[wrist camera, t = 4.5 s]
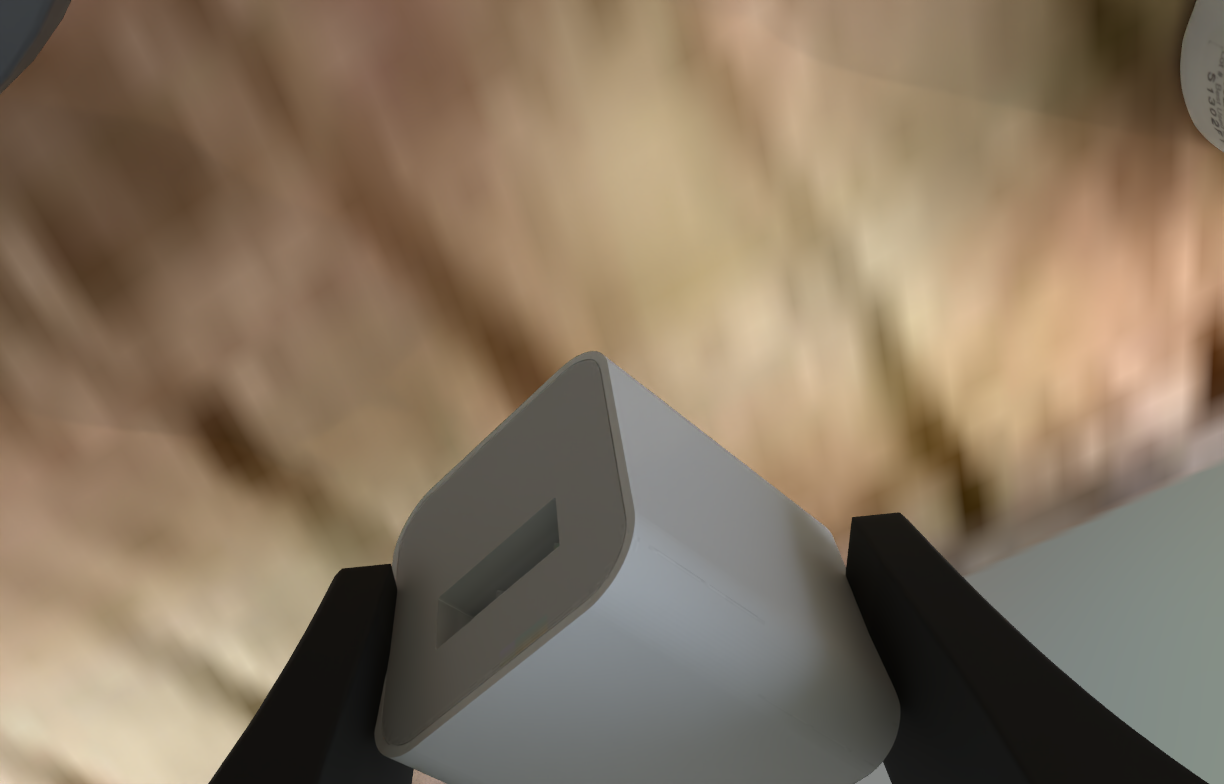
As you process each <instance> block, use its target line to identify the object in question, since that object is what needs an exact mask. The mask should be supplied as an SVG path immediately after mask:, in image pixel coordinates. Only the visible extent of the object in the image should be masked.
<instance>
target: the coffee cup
mask: <svg viewBox="0 0 1224 784" xmlns="http://www.w3.org/2000/svg"><path fill="white" fill-rule="evenodd" d="M70 2H71V0H0V94H1V93H2V92H3V91H4V90H5V89H6V88H7V87H8V86H9V85H10V84H11V83H12V82H13V81H14V80H15V79H16V78H17V77H18V76H19V75H20V74H21V73H22V72H23V71H24V70H25V69H26V68H27V67H28V66H29V65H30V64H31V63H32V62H33V61H34V59H35V58H36V57H37V55H38V54H39V52H40V51H41V49H42V48H43V46H44V45H45V44H46V42H47V41H48V39H49V38H50V36H51V35H52V33H53V32H54V31H55V29H56V28H57V26H58V25H59V23H60V22H61V20H62V19H63V17H64V15H65V13H66V10H67V8H68V6H69V4H70Z"/></svg>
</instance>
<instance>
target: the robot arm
mask: <svg viewBox="0 0 1224 784" xmlns="http://www.w3.org/2000/svg"><path fill="white" fill-rule="evenodd" d="M846 577H847V580H848V582H849V585H850V587H851V590H852V592H853V595H854V598H855V600H856V603H857V605H858V608H859V610H860V613H861V615H862V618H863V620H864V623H865V625H866V628H867V630H868V633H869V635H870V637H871V639H872V641H873V644H874V646H875V648H876V650H877V652H878V654H879V656H880V659H881V661H882V663H883V665H884V667H885V669H886V671H887V674H888V676H889V678H890V680H891V682H892V684H893V686H894V689H895V691H896V694H897V696H898V699H899V702H900V724H899V729H898V733H897V736H896V739H895V741H894V744H893V746H892V748H891V750H890V752H889V753H888V755H887V756H886V758H885V759H884V761H883V763H884V765H885V768H886V770H887V773H888V775H889V777H890V780H891V782H892V784H1209V783H1207V782H1205V781H1204V780H1202V779H1201V778H1200V777H1198V776H1196V775H1195V774H1194V773H1192V772H1191V771H1189V770H1188V769H1187V768H1185V767H1184V766H1182V765H1181V764H1180V763H1178V762H1177V761H1175V760H1174V759H1173V758H1171V757H1170V756H1168V755H1167V754H1166V753H1164V752H1163V751H1162V750H1160V749H1159V748H1158V747H1156V746H1155V745H1154V744H1152V743H1151V742H1150V741H1148V740H1147V739H1146V738H1144V737H1143V736H1142V735H1140V734H1139V733H1138V732H1136V731H1135V730H1134V729H1132V728H1131V727H1130V726H1128V725H1127V724H1126V723H1125V722H1123V721H1122V720H1121V719H1119V718H1118V717H1117V716H1116V715H1114V714H1113V713H1112V712H1111V711H1109V710H1108V709H1107V708H1105V706H1103V705H1102V704H1101V703H1100V702H1098V701H1097V700H1096V699H1095V698H1093V697H1092V696H1091V695H1090V694H1089V693H1087V692H1086V691H1085V690H1084V689H1083V688H1082V687H1081V686H1079V685H1078V684H1077V683H1076V682H1075V681H1073V680H1072V679H1071V678H1070V677H1069V676H1068V675H1067V674H1065V673H1064V672H1063V671H1062V670H1060V669H1059V668H1058V667H1057V666H1056V665H1055V664H1054V663H1053V662H1051V661H1050V660H1049V659H1048V658H1047V657H1046V656H1045V655H1044V654H1042V652H1040V651H1039V650H1038V649H1037V648H1036V647H1035V646H1034V645H1033V644H1031V643H1030V642H1029V641H1028V640H1027V639H1026V638H1025V637H1024V636H1023V635H1022V634H1021V633H1020V632H1019V631H1018V630H1016V628H1014V626H1012V625H1011V624H1010V623H1009V622H1008V621H1007V620H1006V619H1005V618H1004V617H1003V616H1002V615H1001V614H1000V613H999V612H998V611H997V610H996V609H994V608H993V607H992V606H991V605H990V604H989V603H988V602H987V601H986V600H985V599H984V598H983V597H982V596H981V595H980V594H979V593H978V592H977V591H976V590H975V589H974V588H973V587H972V586H971V585H970V584H969V583H968V582H967V581H966V580H965V579H964V578H963V577H962V576H961V575H960V574H959V573H958V572H957V571H956V570H955V569H954V568H953V567H952V566H951V564H950V563H949V562H948V561H947V560H946V559H945V558H944V557H943V556H942V555H941V554H940V553H939V552H938V551H937V550H936V549H935V548H934V547H933V546H932V545H931V544H930V543H929V542H928V541H927V539H926V538H925V537H924V536H923V535H922V534H921V533H920V532H919V531H918V530H917V529H916V528H915V527H914V526H913V525H912V524H911V523H910V522H909V521H908V520H907V519H906V518H905V517H904V516H903V515H902V514H901V513H890V514H880V515H870V516H860V517H852V523H851V532H850V540H849V549H848V558H847V566H846ZM396 599H397V586H396V582H395V578H394V574H393V570H392V566H391V564H384V565H374V566H364V567H354V568H345V569H341V570H340V571H339V572H338V573H337V574H336V575H335V577H334V579H333V581H332V583H331V585H330V586H329V588H328V590H327V592H326V594H325V596H324V598H323V600H322V602H321V604H320V606H319V607H318V609H317V611H316V613H315V615H314V617H313V619H312V620H311V622H310V624H309V626H308V628H307V629H306V631H305V633H304V635H303V637H302V638H301V640H300V642H299V643H298V645H297V647H296V649H295V650H294V652H293V654H292V656H291V657H290V659H289V661H288V663H287V664H286V666H285V668H284V669H283V671H282V672H281V674H280V676H279V677H278V679H277V680H276V682H275V684H274V685H273V687H272V689H271V690H270V692H269V693H268V695H267V697H266V698H265V700H264V702H263V703H262V705H261V706H260V708H259V710H258V711H257V713H256V714H255V716H254V718H253V719H252V721H251V722H250V724H249V725H248V727H247V728H246V730H245V731H244V733H243V734H242V736H241V737H240V738H239V740H238V741H237V743H236V744H235V746H234V747H233V749H232V750H231V752H230V753H229V754H228V756H227V757H226V759H225V760H224V762H223V763H222V765H221V766H220V768H219V769H218V770H217V772H216V773H215V775H214V776H213V778H212V779H211V781H210V782H209V783H208V784H412V777H413V770H414V769H413V768H411V767H409V766H406V765H404V764H402V763H400V762H397V761H395V760H393V759H391V758H388V757H386V756H384V755H383V754H381V753H380V751H379V750H378V748H377V746H376V742H375V736H374V732H375V727H376V721H377V716H378V711H379V706H380V701H381V696H382V691H383V686H384V681H385V676H386V673H387V667H388V661H389V656H390V649H391V640H392V632H393V624H394V615H395V607H396Z"/></svg>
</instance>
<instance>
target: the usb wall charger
mask: <svg viewBox="0 0 1224 784" xmlns="http://www.w3.org/2000/svg"><path fill="white" fill-rule="evenodd" d="M392 570H393V574H394V578H395V582H396V586H397V599H396V607H395V615H394V624H393V632H392V640H391V649H390V656H389V661H388V667H387V673H386V676H385V681H384V686H383V691H382V696H381V701H380V706H379V711H378V716H377V721H376V727H375V732H374V736H375V742H376V746H377V748H378V750H379V751H380V753H381V754H383V755H384V756H386V757H388V758H391V759H393V760H395V761H397V762H400V763H402V764H404V765H406V766H409V767H411V768H413V769H415V770H418V771H420V772H422V773H424V774H427V775H429V776H431V777H434V778H436V779H438V780H440V781H443V782H445V783H447V784H855V783H857V782H858V781H860V780H861V779H863V778H865V777H866V776H868V775H869V774H871V773H872V772H873V771H874V770H875V769H876V768H877V767H878V766H879V765H880V764H881V763H882V762H883V761H884V759H885V758H886V756H887V755H888V753H889V752H890V750H891V748H892V746H893V744H894V741H895V739H896V736H897V733H898V729H899V724H900V702H899V699H898V696H897V694H896V691H895V689H894V686H893V684H892V682H891V680H890V678H889V676H888V674H887V671H886V669H885V667H884V665H883V663H882V661H881V659H880V656H879V654H878V652H877V650H876V648H875V646H874V644H873V641H872V639H871V637H870V635H869V633H868V630H867V628H866V625H865V623H864V620H863V618H862V615H861V613H860V610H859V608H858V605H857V603H856V600H855V598H854V595H853V592H852V590H851V587H850V585H849V582H848V580H847V577H846V567H845V565H844V562H843V560H842V557H841V555H840V553H839V550H838V548H837V545H836V543H835V541H834V538H833V536H832V534H831V532H830V531H829V530H828V529H827V528H826V527H825V526H824V525H823V524H821V523H820V522H819V521H817V520H816V519H815V518H814V517H812V516H811V515H810V514H808V513H807V512H806V511H805V510H803V509H802V508H801V507H799V506H798V505H797V504H795V503H794V502H793V501H792V500H790V499H789V498H788V497H786V496H785V495H784V494H783V493H781V492H780V491H779V490H777V489H776V488H775V487H774V486H772V485H771V484H770V483H768V482H767V481H766V480H764V479H763V478H762V477H761V476H759V475H758V474H757V473H755V472H754V471H753V470H752V469H750V468H749V467H748V466H746V465H745V464H744V463H743V462H741V461H740V460H739V459H737V458H736V457H735V456H733V455H732V454H731V453H730V452H728V451H727V450H726V449H724V448H723V447H722V446H721V445H719V444H718V443H717V442H715V441H714V440H713V439H712V438H710V437H709V436H708V435H706V434H705V433H704V432H702V431H701V430H700V429H699V428H697V427H696V426H695V425H693V424H692V423H691V422H690V421H688V420H687V419H686V418H684V417H683V416H682V415H681V414H679V413H678V412H677V411H675V410H674V409H673V408H671V407H670V406H669V405H668V404H666V403H665V402H664V401H662V400H661V399H660V398H659V397H657V396H656V395H655V394H653V393H652V392H651V391H649V390H648V389H647V388H646V387H644V386H643V385H642V384H640V383H639V382H638V381H637V380H635V379H634V378H633V377H631V376H630V375H629V374H628V373H626V372H625V371H624V370H622V369H621V368H620V367H618V366H617V365H616V364H615V363H613V362H612V361H611V360H609V359H608V358H607V357H606V356H604V355H603V354H602V353H600V352H597V351H590V352H586V353H583V354H581V355H578V356H577V357H575V358H573V359H572V360H570V361H569V362H567V363H566V364H565V365H564V366H563V367H561V368H560V369H559V370H558V371H557V372H556V373H555V374H554V375H553V376H552V377H551V378H550V379H548V380H547V381H546V382H545V383H544V384H543V385H542V386H541V387H540V388H539V389H538V390H537V391H536V392H534V393H533V394H532V395H531V396H530V397H529V398H528V399H527V400H526V401H525V402H524V403H523V404H522V405H521V406H519V407H518V408H517V409H516V410H515V411H514V412H513V413H512V414H511V415H510V416H509V417H508V418H507V419H505V420H504V421H503V422H502V423H501V424H500V425H499V426H498V427H497V428H496V429H495V430H494V431H493V432H492V433H490V434H489V435H488V436H487V437H486V438H485V439H484V440H483V441H482V442H481V443H480V444H479V445H478V446H476V447H475V448H474V449H473V450H472V451H471V452H470V453H469V454H468V455H467V456H466V457H465V458H464V459H463V460H461V461H460V462H459V463H458V464H457V465H456V466H455V467H454V468H453V469H452V470H451V471H450V472H449V473H447V474H446V475H445V476H444V477H443V478H442V479H441V480H440V481H439V482H438V483H437V484H436V485H435V486H434V487H432V488H431V489H430V490H429V491H428V492H427V493H426V495H425V496H424V497H423V498H422V499H421V500H420V502H419V503H418V504H417V506H416V507H415V509H414V510H413V512H412V513H411V515H410V516H409V518H408V520H407V521H406V523H405V525H404V527H403V529H402V531H401V533H400V536H399V538H398V541H397V544H396V547H395V551H394V555H393V563H392Z"/></svg>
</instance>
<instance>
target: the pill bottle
mask: <svg viewBox="0 0 1224 784" xmlns="http://www.w3.org/2000/svg"><path fill="white" fill-rule="evenodd" d="M1180 77H1181V87H1182V92H1183V96H1184V100H1185V103H1186V106H1187V109H1188V112H1189V115H1190V117H1191V119H1192V121H1193V123H1194V125H1195V126H1196V128H1197V129H1198V130H1199V131H1200V133H1201V134H1202V135H1203V136H1204V137H1205V138H1206V139H1207V140H1208V141H1209V142H1210V143H1212V144H1213V145H1214V146H1215V147H1217V148H1218V149H1219V150H1221V151H1222V152H1224V0H1197V1H1196V3H1195V6H1194V9H1193V12H1192V14H1191V17H1190V20H1189V22H1188V25H1187V28H1186V31H1185V35H1184V38H1183V42H1182V51H1181V60H1180Z"/></svg>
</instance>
